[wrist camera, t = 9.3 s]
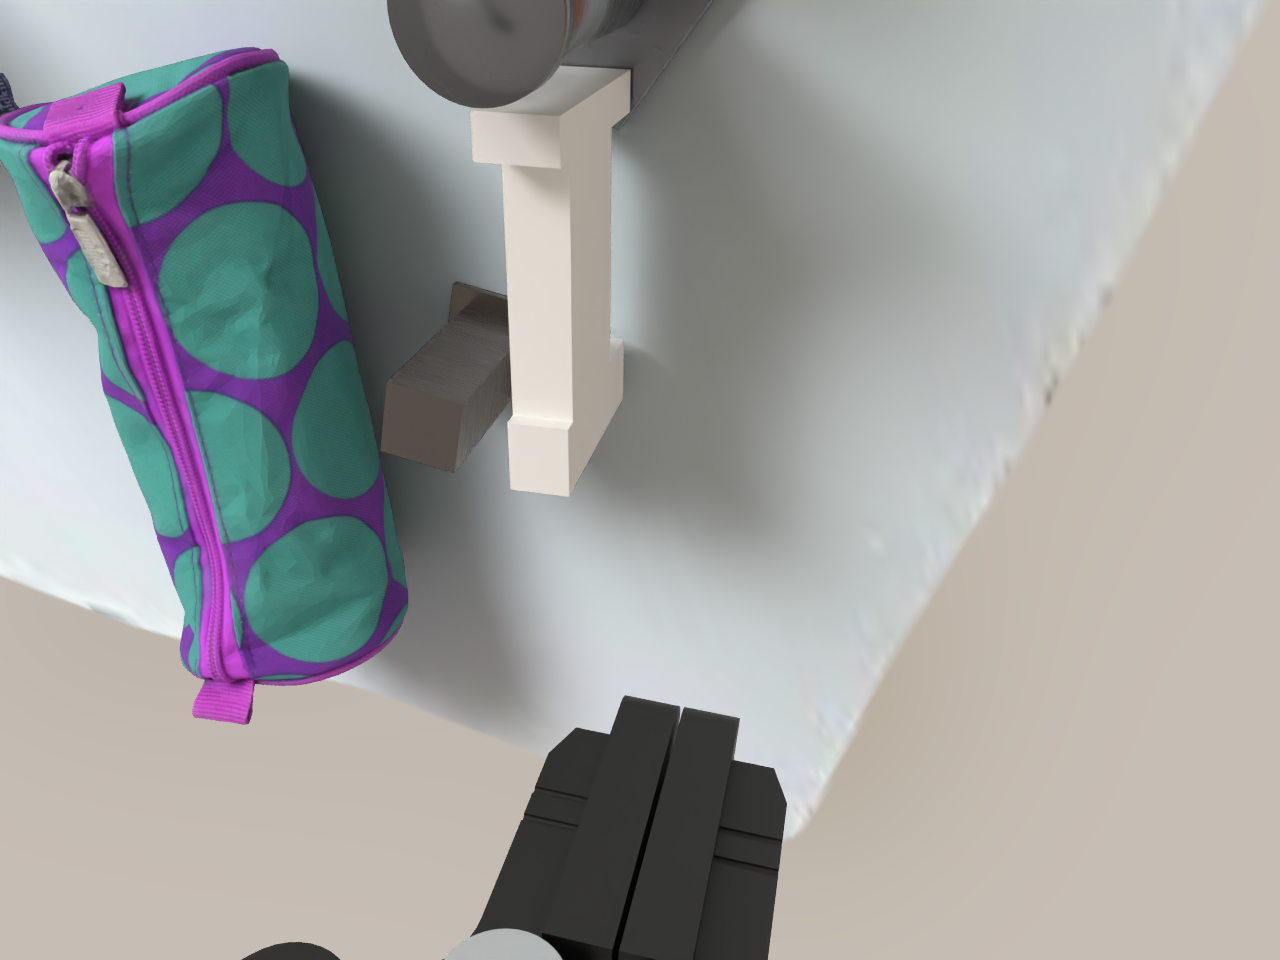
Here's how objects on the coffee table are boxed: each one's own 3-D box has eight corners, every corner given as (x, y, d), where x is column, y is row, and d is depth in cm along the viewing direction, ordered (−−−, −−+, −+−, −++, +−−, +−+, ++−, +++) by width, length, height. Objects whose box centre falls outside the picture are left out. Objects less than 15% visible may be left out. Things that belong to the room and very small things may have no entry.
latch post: (445, 372, 38) (360, 461, 32) (455, 281, 36) (368, 358, 30) (538, 399, 38) (470, 495, 32) (554, 309, 36) (485, 392, 30)
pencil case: (99, 52, 35) (-144, 100, 27) (336, 28, 33) (151, 74, 25) (266, 568, 45) (125, 718, 37) (457, 575, 43) (352, 737, 35)
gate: (563, 63, 31) (469, 110, 25) (634, 67, 31) (559, 115, 24) (568, 391, 37) (492, 505, 30) (628, 398, 36) (566, 515, 30)
